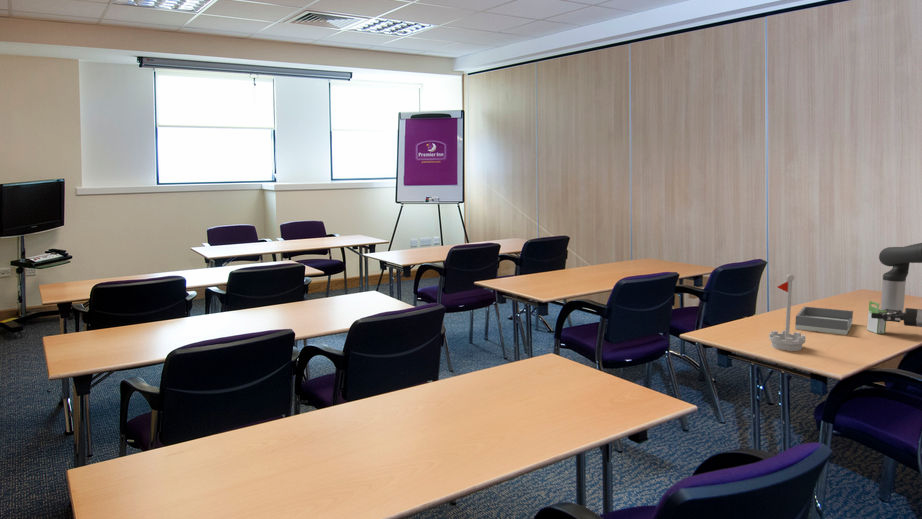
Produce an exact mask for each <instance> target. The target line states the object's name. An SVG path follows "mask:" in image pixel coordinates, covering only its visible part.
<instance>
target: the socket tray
mask: <svg viewBox="0 0 922 519" xmlns="http://www.w3.org/2000/svg"><path fill="white" fill-rule="evenodd" d="M853 316H854V310H847V309H846V310H844V309H835V308H825V307H823V308H822V307H813V306H812V307H811V306H803V307H802V308H801V309H800V311H799V312H798V313H797V314H796V315H795V325H794V329H795V330H798V331H799V330H800V331H808V332H816V331H817V332H818V333H819V332H820V333H827V334H835V335H836V334H837V335H844V336H847V335H848V334H849V332H848V331H850V330H851V327H852V326H853ZM817 332H816V333H817Z"/></svg>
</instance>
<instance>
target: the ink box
mask: <svg viewBox="0 0 922 519" xmlns="http://www.w3.org/2000/svg"><path fill="white" fill-rule="evenodd" d="M873 305H875V306H873ZM872 313H880V314H887V312H886V311H883V310H881V308H880V303H878V302H875V301H872V300H869V301H868V313H867V326H866V330H867V331H869V332H871V333H874V334H877V335H879V334H880V335H885V334H886V330H887V321H884V320H882V319H876V318H871V314H872Z"/></svg>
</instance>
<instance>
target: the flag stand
mask: <svg viewBox="0 0 922 519" xmlns="http://www.w3.org/2000/svg"><path fill="white" fill-rule="evenodd" d="M785 279H786V280H787V281H786V282H784V283H782V284H780V285H778V286H777V288H778V289H780V290H782V291H784V292H786V311H785V313H786V314H785V330H781V332H778V330H771V331H770V332H769V334H768V338H769V341H771V348H773V347H774V348H773V349H775V348H776V350H779V349H781V350H780V351H785V350H787V352H788V351H789V352H797V351H801V350H802V349H803V345H804V344H805V343H806V335H805V334H802V332H798V331H794V332H793V333H790V329H791V326H790V325H791V309H792V308H791V307H792V293H793V292H792V289H793V281H794V280H795V276H794V275H793V274H792V273H789V274H786V277H785Z"/></svg>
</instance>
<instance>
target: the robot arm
mask: <svg viewBox="0 0 922 519" xmlns="http://www.w3.org/2000/svg"><path fill="white" fill-rule="evenodd" d="M878 259H879V261H880V263H881V264H882V265H884V266H885V267H886V266H887V267H891V269H890V270H889V271H887V272H885V273H883V275H882V284H881V285H882V286H881V287H882V288H881V300H880V310H883V311H886V312H887V314H880V313H872V314H871V318H876V319H882V320H884V321H886V322H896V323H901V321H903V325H904V326H906V327H916V328H917V327H918V328H922V309H921V308H911V307H906V308H905V297H906V296H905V295H906V282H907V281H906V280H907V277H908V275H909V269H910V264H922V242H919V243H913V244H910V245H905V246H891V247H889V246H887V247H886V248H883V249H882V250H881V251H880V253H879V255H878Z"/></svg>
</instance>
